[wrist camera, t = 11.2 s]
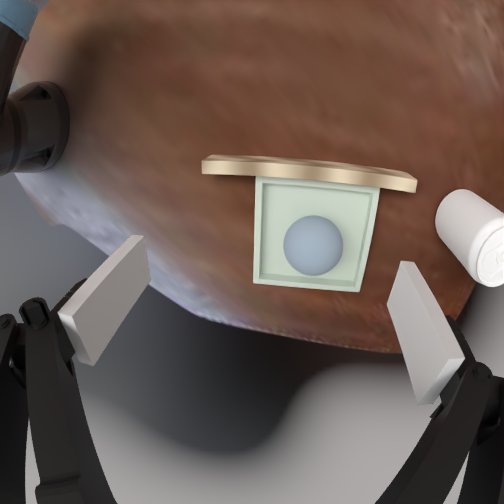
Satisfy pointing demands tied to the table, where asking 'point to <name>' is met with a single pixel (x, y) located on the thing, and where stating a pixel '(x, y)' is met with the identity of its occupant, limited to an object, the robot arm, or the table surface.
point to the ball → (313, 245)
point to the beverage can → (473, 235)
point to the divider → (309, 171)
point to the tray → (306, 204)
